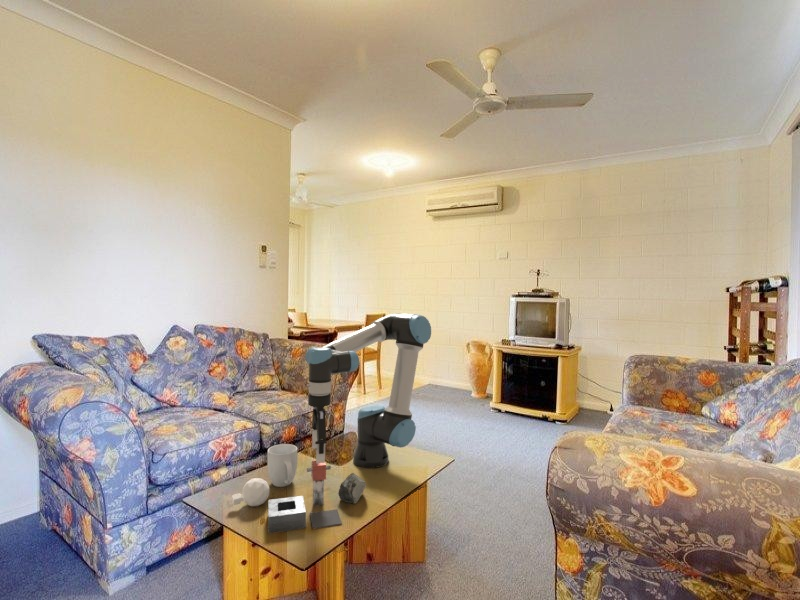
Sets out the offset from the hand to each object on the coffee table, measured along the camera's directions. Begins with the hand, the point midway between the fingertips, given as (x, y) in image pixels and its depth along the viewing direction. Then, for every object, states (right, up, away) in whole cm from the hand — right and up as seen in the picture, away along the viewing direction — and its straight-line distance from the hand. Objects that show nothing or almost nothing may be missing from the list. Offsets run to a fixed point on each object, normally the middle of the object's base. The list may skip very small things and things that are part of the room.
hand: (318, 455), depth 148 cm
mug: (-16, -16, +15) cm, 27 cm away
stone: (+12, -17, +3) cm, 21 cm away
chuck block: (-8, -17, -11) cm, 22 cm away
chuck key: (0, -17, +1) cm, 17 cm away
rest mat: (+4, -17, -10) cm, 20 cm away
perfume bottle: (-23, -17, -1) cm, 28 cm away
